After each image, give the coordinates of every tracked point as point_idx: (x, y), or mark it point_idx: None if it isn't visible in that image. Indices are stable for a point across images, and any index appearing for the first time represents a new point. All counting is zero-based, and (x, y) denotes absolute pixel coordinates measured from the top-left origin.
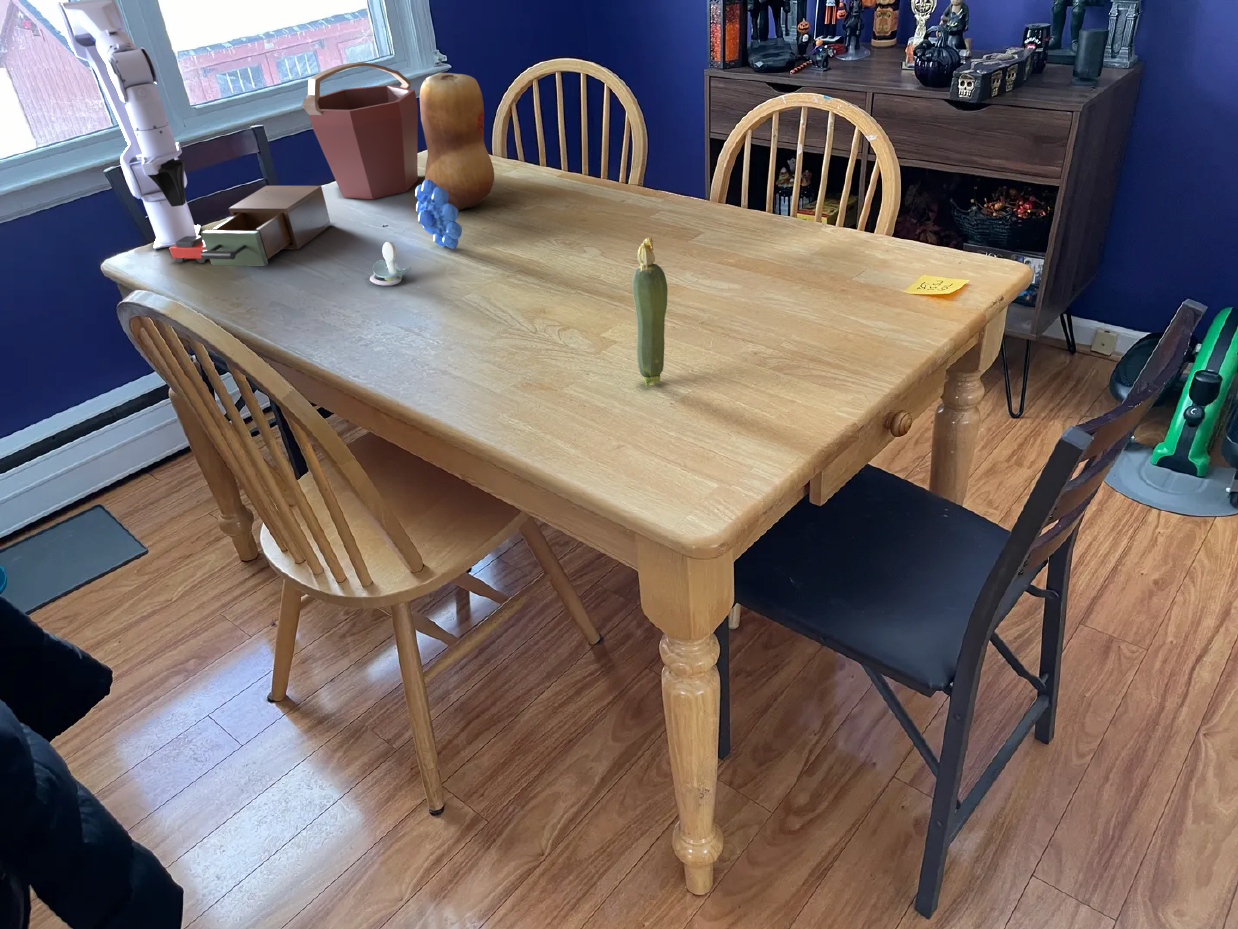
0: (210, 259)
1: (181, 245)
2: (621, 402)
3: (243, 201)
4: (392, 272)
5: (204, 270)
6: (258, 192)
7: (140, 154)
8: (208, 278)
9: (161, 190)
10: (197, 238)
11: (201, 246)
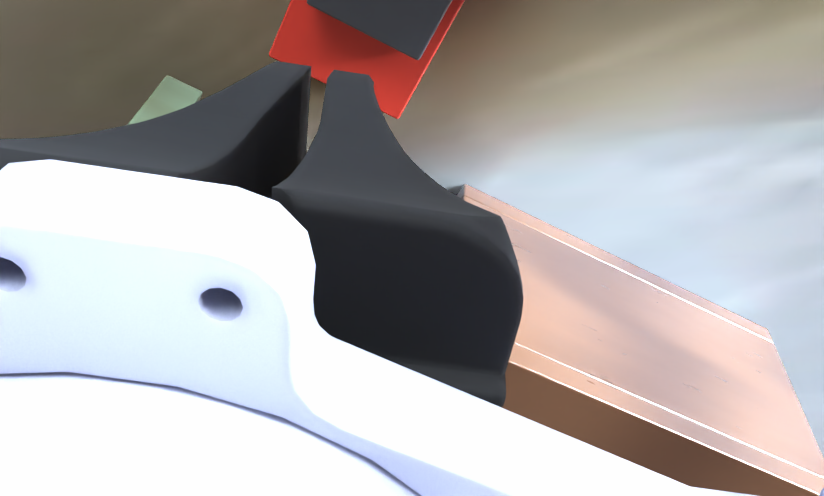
0: (155, 91)
1: None
2: None
3: (562, 408)
4: None
5: (176, 14)
6: (711, 473)
7: (184, 293)
8: (45, 48)
9: (182, 108)
10: (382, 39)
11: (304, 50)
